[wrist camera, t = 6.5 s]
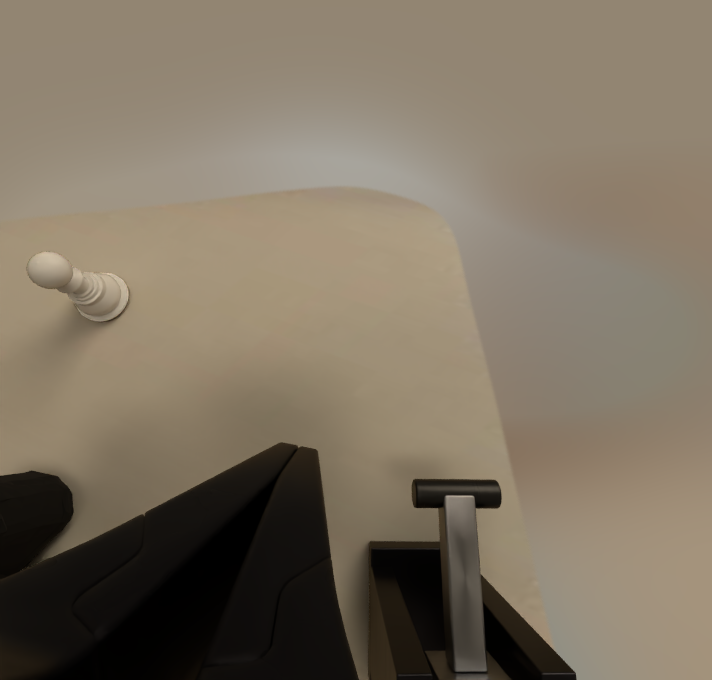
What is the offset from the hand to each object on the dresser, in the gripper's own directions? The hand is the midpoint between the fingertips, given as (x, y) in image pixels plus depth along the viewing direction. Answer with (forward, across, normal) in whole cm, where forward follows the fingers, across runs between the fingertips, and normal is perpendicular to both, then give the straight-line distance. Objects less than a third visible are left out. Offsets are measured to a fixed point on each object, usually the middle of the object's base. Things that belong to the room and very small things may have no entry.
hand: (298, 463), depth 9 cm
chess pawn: (+13, +15, +1) cm, 20 cm away
